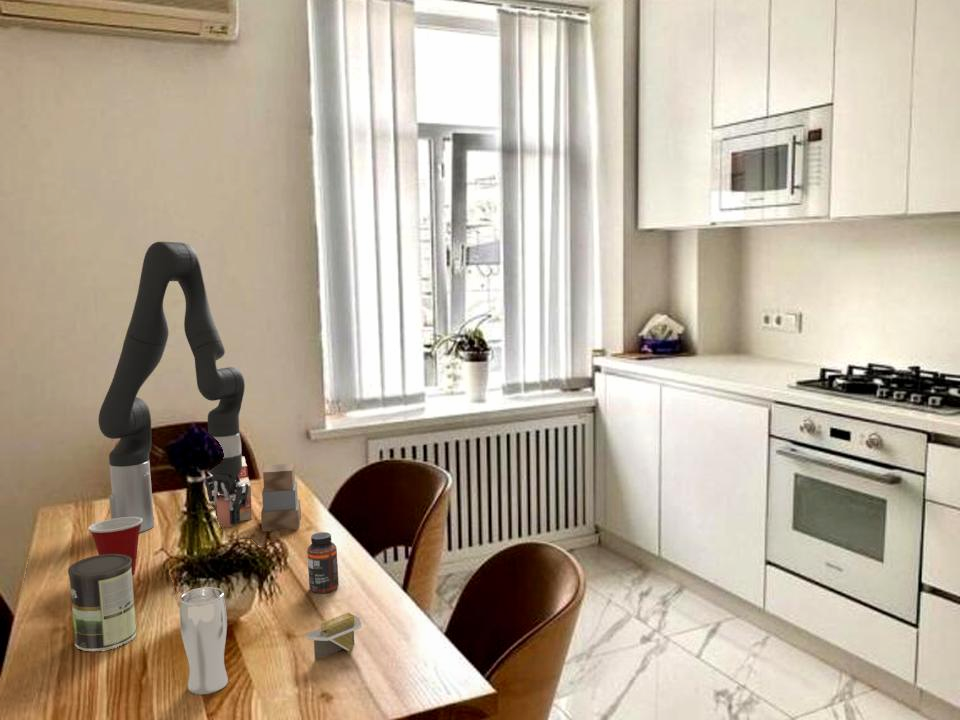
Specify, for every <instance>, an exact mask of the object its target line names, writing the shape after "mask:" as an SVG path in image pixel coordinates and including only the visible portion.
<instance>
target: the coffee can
mask: <svg viewBox="0 0 960 720" xmlns="http://www.w3.org/2000/svg"><path fill="white" fill-rule="evenodd" d="M131 564H132V559H131V558H130V557H129V556H127V555H123V554H103V555H99V554H97V555H93V556H88V557H86V558H83V559H79V560H77V561H76V562H74V563H73V564H71V565H69V567H68V569H67V573H68V576H69V589H70V596H71V597H70V599H71V609H72V620H73V621H72V622H73V623H72V624H73V633H74V634H73V635H74V647H75V646H76V647H77V648H78V649H81V650H86V651H102V650H108V649H112V650H114V649H113V648H115V649H118V648H120V647H119V646H121V647H123V646H124V645H123V644H125V645H127V644H128V642H129V643H130V642H132V641H133V640H134V639H135V638H136V636H137V632H138V631H137V626H136V613H135V612H136V611H135V597H134V586H133V585H134V584H133V576H132V569H131ZM131 640H132V641H131ZM126 643H127V644H126ZM122 645H123V646H122ZM76 647H75V648H76ZM117 647H118V648H117ZM77 648H76V649H77ZM78 649H77V650H78ZM108 651H109V650H108Z"/></svg>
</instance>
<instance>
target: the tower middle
mask: <svg viewBox="0 0 960 720" xmlns="http://www.w3.org/2000/svg"><path fill="white" fill-rule="evenodd" d="M261 494H262V497H261V498H262V508H263V512H268V511H282V510H296V507H297V502H298V500H299V498H298V482H297V481H295V485H294V488H293V490H287V491H271V492H264V487H263V489H262V491H261Z"/></svg>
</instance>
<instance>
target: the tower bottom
mask: <svg viewBox="0 0 960 720" xmlns="http://www.w3.org/2000/svg"><path fill="white" fill-rule="evenodd" d="M301 507H302V506H301V499H298V502H297V507H296V510H282V511H268V512H263V507H262V508H261V511H260V516H261V517H260V518H261V532H270V531H269V530H274V531H273V532H275V531H287V530H288V531H289V530H298V529H297V528H299V529H300V524H301V521H302V520H301V519H302V508H301ZM300 520H301V521H300Z"/></svg>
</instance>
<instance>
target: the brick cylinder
mask: <svg viewBox="0 0 960 720" xmlns="http://www.w3.org/2000/svg"><path fill="white" fill-rule="evenodd" d="M231 497H232V496H231ZM233 504H235V499H233ZM216 521H217V523H218V522H219V525H220V526H221V528H231V527H234V526H238V524H236V525H231V524H230V507H229V503H228V501H226V499H225V497H220V498H219V499H217V519H216ZM220 526H219V527H220Z"/></svg>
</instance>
